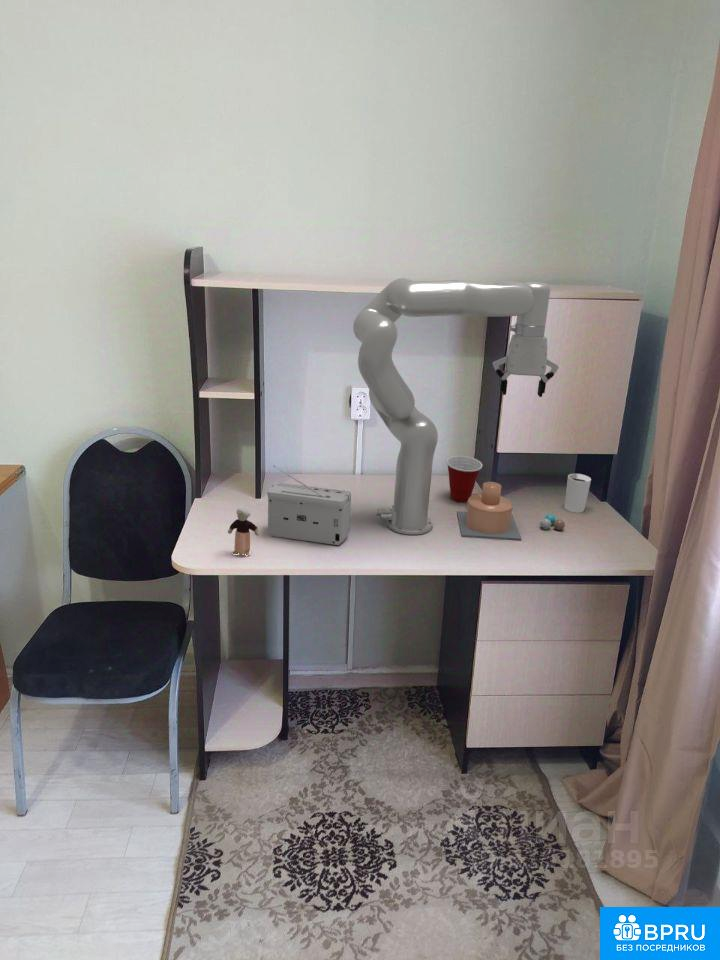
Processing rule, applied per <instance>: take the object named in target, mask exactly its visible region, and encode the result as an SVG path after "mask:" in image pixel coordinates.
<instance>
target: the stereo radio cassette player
mask: <svg viewBox="0 0 720 960" xmlns="http://www.w3.org/2000/svg"><path fill="white" fill-rule="evenodd" d="M272 467H274V468H276V469H278V470H279V471H280V472H282V474H283V473H284V474H285V475H287V476H288V477H290V478H291V479H293V480H294V481H295V482H297V483H299V484H294V483H287V482H281V481H280V482H279V481H278V482H277V481H275V482H273V484H272V485H271V486H270V487H269V489H268V490H267V532H268V533H269V535H270V536H271V537H273V536H274V537H278V538H284V539H290V540H291V539H292V540H299V541H305V542H313V543H319V544H320V543H321V544H325V545H333V546H334V545H335V546H336V545H338V546H339V545H341V544H342V543H343V542H344V541H345V540H346V538H348V537H347V536H348V535H349V533H350V525H351V524H350V523H351V507H352V506H351V505H352V494H351V491H349V490H342V489H334V488H333V489H332V488H327V487H325V488H324V487H317V486H311V485H310V486H309V485H307V484H306V483H304V482H302V481H301V480H299V479H298V478H295V477H294V476H292V475H291V474H289V473H287V472H286V471H284V470H282V469H280V468H279V467H277V466H276V465H275V464H273V466H272Z"/></svg>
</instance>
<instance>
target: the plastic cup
mask: <svg viewBox="0 0 720 960" xmlns="http://www.w3.org/2000/svg"><path fill="white" fill-rule="evenodd" d="M446 464H447V469H448V480H449V482H448V483H449V490H450V491H449V492H450V499H451V500H452V501H454V502H458V503H467V502H468V499H469V497H470V496H472V495H473V491H474V487H475V485H476V481H477V477H478V475H479V473H480V470H482V468H483V463H482V461H480V460H478V458H474V457H472V456H465V455H452V456H450V457H447V459H446Z"/></svg>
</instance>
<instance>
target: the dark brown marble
mask: <svg viewBox="0 0 720 960" xmlns="http://www.w3.org/2000/svg"><path fill="white" fill-rule="evenodd" d="M553 527H554V528H555V530H558V531H562V530H564V529H565V527H566V523H565V521H564V520H563V519H556V521H555V522H554V524H553Z"/></svg>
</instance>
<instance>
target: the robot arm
mask: <svg viewBox="0 0 720 960" xmlns="http://www.w3.org/2000/svg"><path fill="white" fill-rule="evenodd" d="M550 295H551V286H550V285H549V284H548V283H545V282H539V281H525V282H519V281H514V280H513V281H511V280H507V279H505V280H504V279H502V280H497V281H495V282H493V283H492V284H491V285H490V284H481V283H474V282H470V281H465V280H457V279H456V280H455V279H454V280H419V281H418V280H416V281H415V280H411V279H408V278H405V277H403V278H402V277H400V278H396V279H394V280H392V281H391V282H389V284H387V285H386V286H385V287H384V288H383V289H382V290H381V291H380V292H379V293H378V294H377V295H376V296H375V297H373V299H372V300H371V301H370V302H369V303H368V304H366V305H365V306H364V308H362V310H360V312H358V314H357V315H356V317H355V319H354V321H353V324H352V327H353V329H352V330H353V334H354V336H355V338H356V339H357V340H358V341H359V342H360V343H361V345H360V347H359V351H358V357H357V366H358V370H359V373H360V375H361V377H362V379H363V380H364V382H365V384H366V386H367V387H368V396H369V400H370V402H371V405H372V406H373V408H374V410H375V411H376V413H377V414H378V416H379V418H380V419H381V420H382V422H383V423H384V425H385V426H386V428H387V429H388V430H389V432H390V433H391V435H393V437H394V438H395V439H396V440H398V441H399V442H400V450H399V452H398V455H397V460H396V466H395V468H396V469H395V481H394V482H395V483H394V493H393V494H394V496H393V505H391V508H389V507H388V508H387V509H384V508H376V516H378V517H379V516H380V519H382V520H383V519H385V520H386V525H387V527H388V529H390V530H391V531H393V532H396V533H398V534H404V535H411V536H413V535H415V536H416V535H418V536H419V535H424V534H426V533H429V532H430V531H431V530H432V528H433V521H432V520H431V519H430V518H429V517H428V515H429V505H430V504H429V503H430V495H431V494H430V493H431V485H432V474H433V473H432V472H433V463H434V457H435V452H436V448H437V445H438V439H439V438H438V437H439V434H438V430H437V427H436V425H435V423H434V422H433V421H432V420H431V419H430V418H429V417H428V416H426V415H424V413H422V412H421V411H420V410H418V408H417V407H416V406H415V404H416V403H415V402H416V401H415V396H414V394H413V391H412V390H411V389H410V387H409V386H408V385H407V383H406V382H405V380H404V378H403V377H402V376H401V374H400V373H399V371H398V369H397V367H396V366H395V363H394V361H393V351H394V348H395V345H396V343H397V340H398V328H397V326H396V324H395V322H396V321H398V319H399V318H400V317H401V316H402V315H403V316H405V317H409V318H410V317H411V318H412V317H413V318H421V317H423V318H424V317H444V316H445V317H449V316H451V317H452V316H454V317H455V316H457V317H458V316H460V317H490V318H491V317H497V318H499V317H503V318H504V317H516V321H515V324H514V325H509V326H510V327H509V331H510V332H514V334H512V336H511V338H510V342H509V344H508V349H507V355H506V356H504V357H501V358H499V359H497V360H495V361H493V362H492V366H493V368H494V371H495V373H496V374H497V375H498V376H499V377H498V378H500V379H501V380H500V386H499V387H500V388H499V391H500V392H501V394H502V395H503V396H506V395H507V390H508V389H507V388H508V378H509V377H510V376H511V375H514V376H515V375H516V376H529V377H531V376H532V377H540V380H538V386H537V387H538V388H537V396H538V397H539V398H542V397H543V394H545V392H546V388H547V387H546V385H547V382H549V380H551V379H552V378H553V377H554V376H555V374H556V372H557V371H558V369H559V368H560V367H559V366H558V364H556V363H554V362H553V361H551V360H550V359H548V338H547V337H546V336H545V332H546V325H547V316H548V310H549V303H550V297H551V296H550ZM503 364H505V370H503V371H502V370H501V369H500V366H502V365H503ZM547 366H548V367H549V368H550V370H549V371H548V372H547V373H546V370H547Z"/></svg>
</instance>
